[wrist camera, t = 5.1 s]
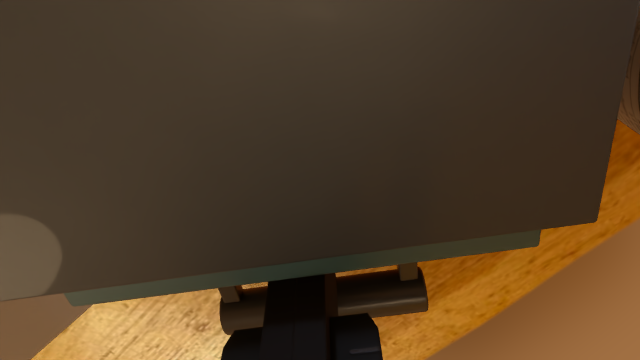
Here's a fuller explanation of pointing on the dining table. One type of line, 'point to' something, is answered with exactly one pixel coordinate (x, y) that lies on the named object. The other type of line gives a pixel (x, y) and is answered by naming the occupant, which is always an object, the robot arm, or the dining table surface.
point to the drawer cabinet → (293, 130)
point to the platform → (33, 324)
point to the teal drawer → (352, 291)
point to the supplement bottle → (632, 85)
